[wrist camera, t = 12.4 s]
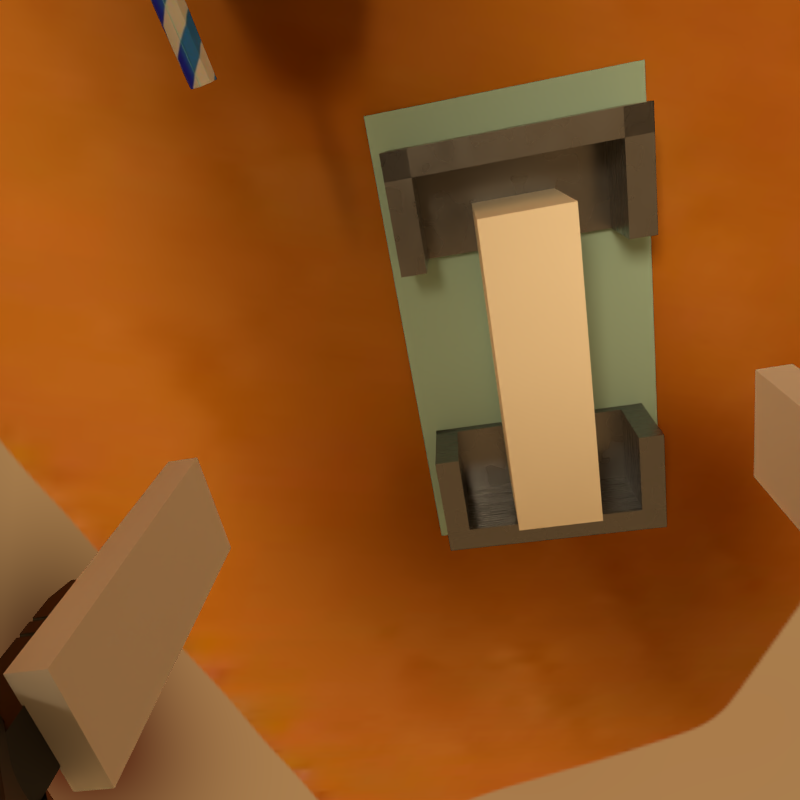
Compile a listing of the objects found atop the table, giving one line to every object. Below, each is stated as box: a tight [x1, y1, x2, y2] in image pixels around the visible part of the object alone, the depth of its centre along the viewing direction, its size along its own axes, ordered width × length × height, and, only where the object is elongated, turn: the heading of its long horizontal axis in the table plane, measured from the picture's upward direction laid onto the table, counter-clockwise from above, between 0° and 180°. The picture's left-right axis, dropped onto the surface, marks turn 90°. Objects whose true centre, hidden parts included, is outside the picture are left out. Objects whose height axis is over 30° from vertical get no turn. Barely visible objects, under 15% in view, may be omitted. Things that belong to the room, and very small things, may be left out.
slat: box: [471, 188, 603, 531], centre depth 31 cm, size 15×4×6 cm, turn 11°
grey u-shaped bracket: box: [379, 101, 658, 278], centre depth 30 cm, size 5×11×4 cm, turn 100°
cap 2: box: [435, 403, 667, 551], centre depth 35 cm, size 5×11×4 cm, turn 100°
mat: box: [364, 60, 657, 536], centre depth 35 cm, size 24×13×1 cm, turn 10°
